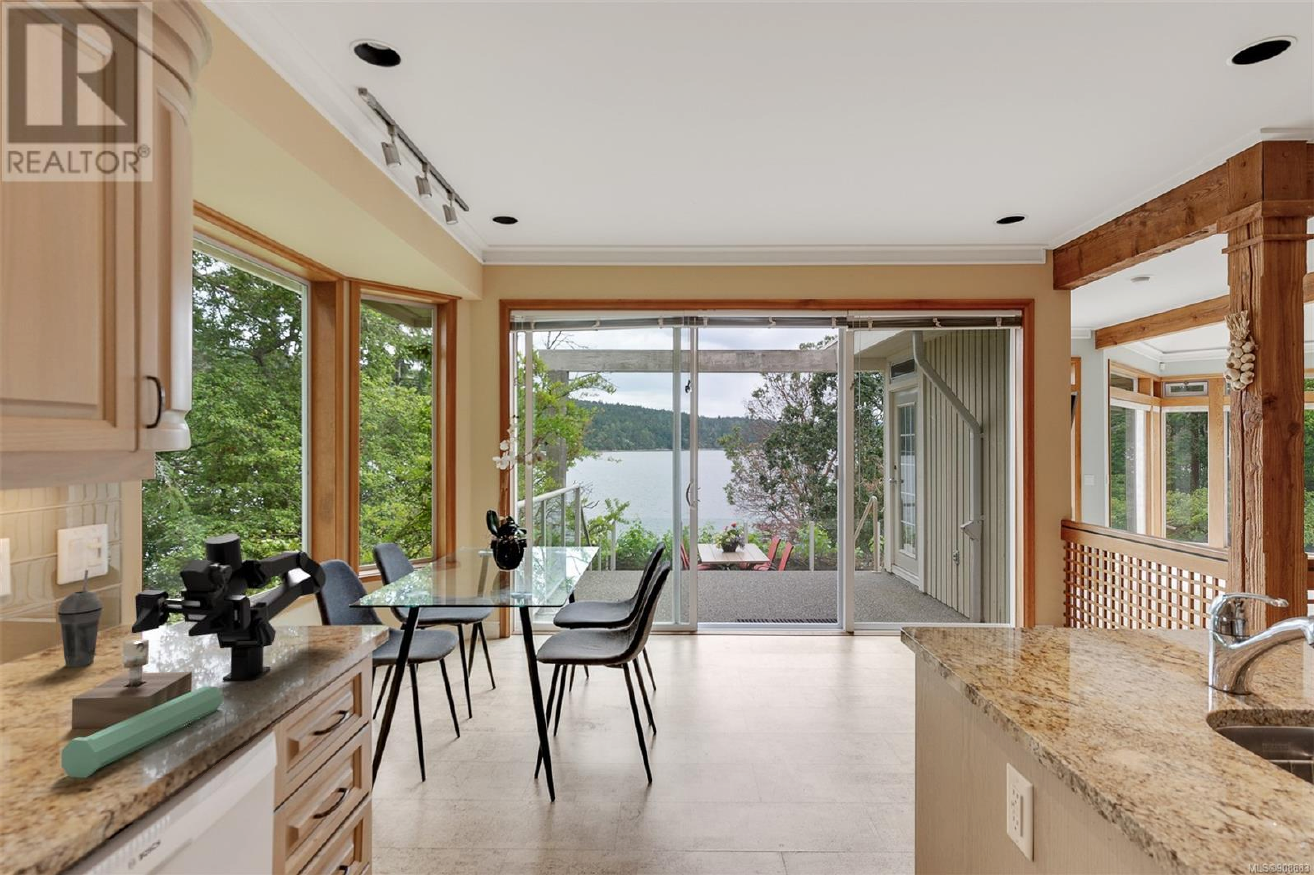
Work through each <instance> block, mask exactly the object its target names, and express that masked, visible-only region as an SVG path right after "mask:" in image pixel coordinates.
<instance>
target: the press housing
mask: <svg viewBox="0 0 1314 875" xmlns="http://www.w3.org/2000/svg"><path fill="white" fill-rule="evenodd" d="M192 678H193V673H192V671H174V672H173V671H168V672H167V671H164V672H142V685H141V686H139V687H129V672H128V673H121V674H119V675H117V676H115V677H113V678H111V679H109V680H107V681H105V682H103V683H101V684H99V685H97V686H95V687H93V688H91V689H89V690H87V691H85V692H83V693H80V694H79V695H76V696H74V697H72V698H71V700H72V701H71V729H73V730H74V729H92V728H94V729H98V728H99V729H100V728H108V727H111V726H113V725H115V724H118V723H120V722H122V721H125V720H127V719H129V718H131V717H134V716H136V715H138V714H141V713H143V712H145V711H148V710H150V709H152V708H155V707H157V706H159V705H162V704H164V703H166V702H169V701H171V700H173V699H176V698H178V697H180V696H182V695H185V694H187V693H189V692H192V688H193V687H192V686H193V685H192V683H193V680H192Z"/></svg>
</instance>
